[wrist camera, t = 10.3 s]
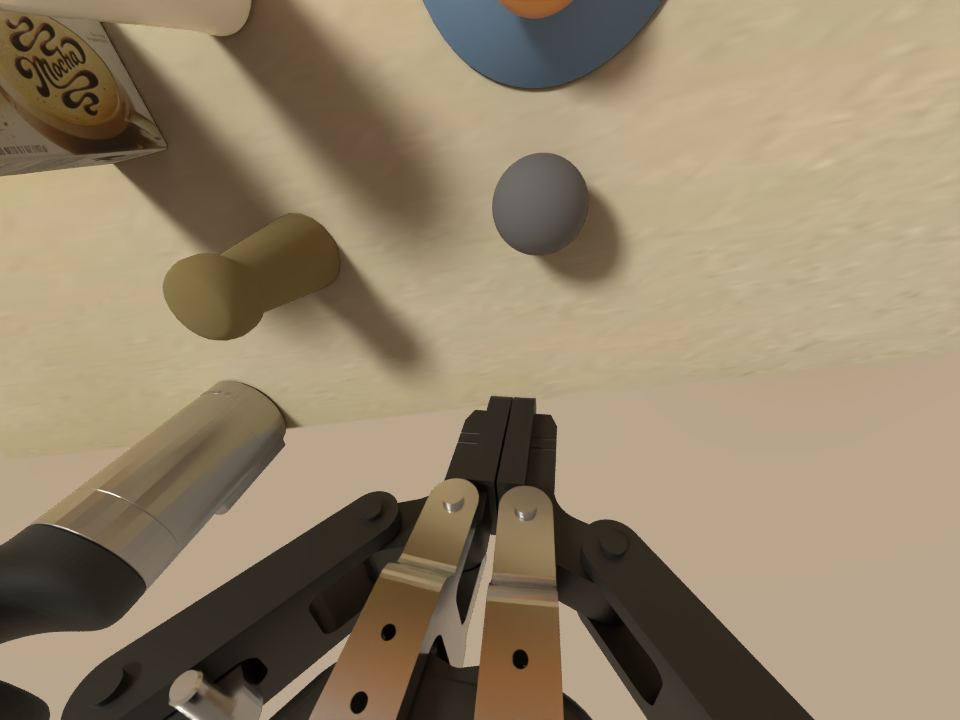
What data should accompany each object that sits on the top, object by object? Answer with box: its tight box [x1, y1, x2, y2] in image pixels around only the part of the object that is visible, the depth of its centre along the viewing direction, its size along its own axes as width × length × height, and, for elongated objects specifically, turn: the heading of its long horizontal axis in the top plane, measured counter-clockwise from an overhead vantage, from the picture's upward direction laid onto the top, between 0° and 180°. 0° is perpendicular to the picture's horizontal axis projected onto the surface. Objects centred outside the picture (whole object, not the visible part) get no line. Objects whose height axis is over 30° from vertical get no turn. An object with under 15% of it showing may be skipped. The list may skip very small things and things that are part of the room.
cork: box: [163, 213, 340, 340], centre depth 26 cm, size 6×6×11 cm
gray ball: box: [492, 153, 588, 255], centre depth 22 cm, size 6×6×6 cm
